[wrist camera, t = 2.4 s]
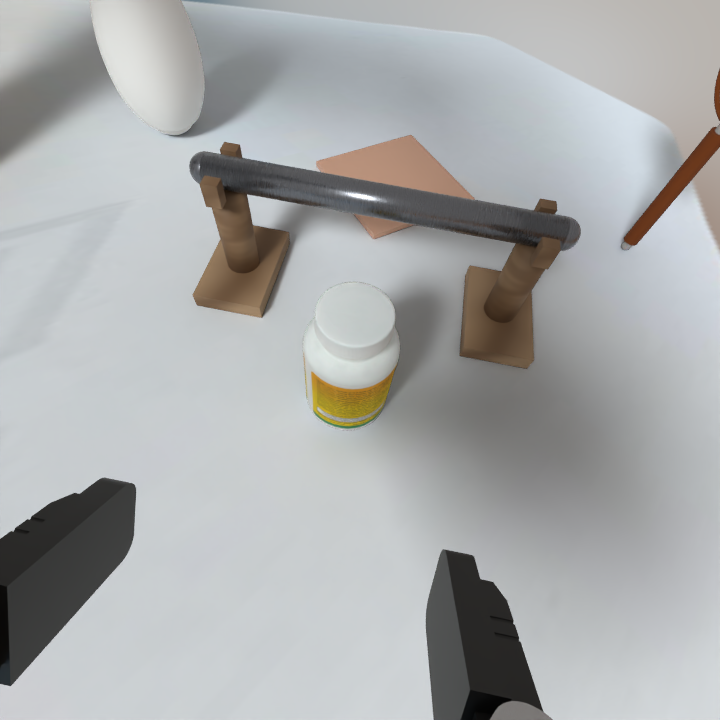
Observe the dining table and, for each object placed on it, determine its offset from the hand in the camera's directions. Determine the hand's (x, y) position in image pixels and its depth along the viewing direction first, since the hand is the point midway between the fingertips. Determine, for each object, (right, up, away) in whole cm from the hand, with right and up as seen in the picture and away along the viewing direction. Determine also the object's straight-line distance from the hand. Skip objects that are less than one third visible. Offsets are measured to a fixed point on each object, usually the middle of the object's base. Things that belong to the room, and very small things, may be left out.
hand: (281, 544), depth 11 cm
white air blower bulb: (-17, +28, +32) cm, 45 cm away
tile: (+5, +22, +30) cm, 37 cm away
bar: (+3, +14, +15) cm, 21 cm away
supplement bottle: (+1, +2, +18) cm, 18 cm away
